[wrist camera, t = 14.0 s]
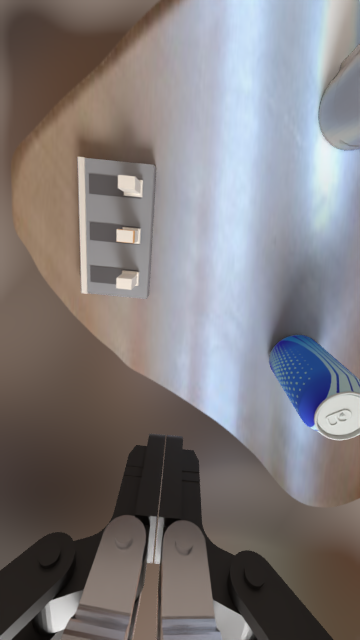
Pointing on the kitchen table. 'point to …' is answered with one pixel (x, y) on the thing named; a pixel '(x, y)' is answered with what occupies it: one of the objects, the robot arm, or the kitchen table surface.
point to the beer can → (318, 387)
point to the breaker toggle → (129, 235)
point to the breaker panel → (115, 226)
